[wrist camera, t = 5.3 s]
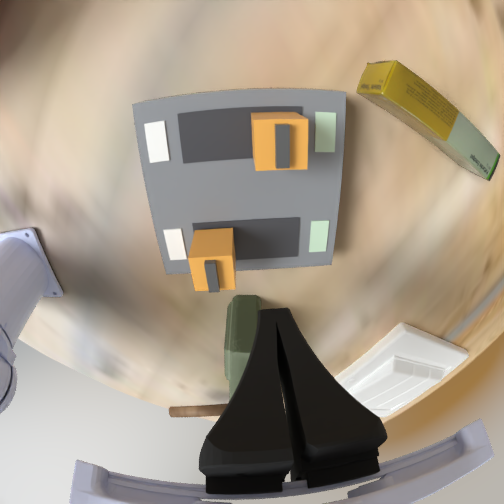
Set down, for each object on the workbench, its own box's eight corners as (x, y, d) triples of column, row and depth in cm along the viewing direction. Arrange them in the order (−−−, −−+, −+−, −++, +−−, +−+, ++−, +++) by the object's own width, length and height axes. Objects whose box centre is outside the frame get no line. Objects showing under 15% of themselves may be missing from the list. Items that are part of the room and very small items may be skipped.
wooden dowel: (172, 405, 39) (174, 415, 39) (168, 408, 37) (170, 418, 37) (232, 401, 38) (234, 412, 38) (230, 404, 36) (232, 415, 36)
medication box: (472, 141, 17) (503, 156, 14) (460, 167, 18) (490, 184, 15) (366, 60, 14) (395, 57, 11) (352, 92, 16) (379, 95, 12)
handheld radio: (265, 293, 25) (250, 409, 39) (228, 291, 25) (228, 408, 39) (268, 354, 20) (250, 447, 34) (223, 352, 20) (227, 446, 34)
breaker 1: (200, 261, 19) (194, 295, 16) (194, 230, 18) (187, 262, 15) (235, 259, 19) (235, 293, 16) (232, 227, 18) (231, 259, 15)
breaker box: (172, 254, 22) (166, 275, 20) (145, 100, 15) (131, 104, 13) (323, 246, 22) (331, 265, 20) (332, 89, 15) (346, 92, 13)
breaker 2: (252, 154, 15) (256, 173, 12) (251, 112, 14) (253, 121, 11) (295, 153, 15) (309, 172, 12) (295, 112, 14) (310, 120, 11)
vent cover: (473, 362, 33) (387, 423, 43) (465, 347, 36) (383, 409, 46) (410, 340, 26) (298, 420, 36) (399, 318, 29) (295, 401, 39)
